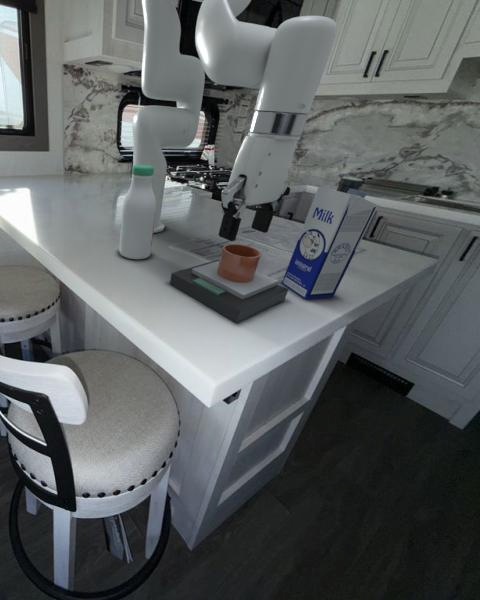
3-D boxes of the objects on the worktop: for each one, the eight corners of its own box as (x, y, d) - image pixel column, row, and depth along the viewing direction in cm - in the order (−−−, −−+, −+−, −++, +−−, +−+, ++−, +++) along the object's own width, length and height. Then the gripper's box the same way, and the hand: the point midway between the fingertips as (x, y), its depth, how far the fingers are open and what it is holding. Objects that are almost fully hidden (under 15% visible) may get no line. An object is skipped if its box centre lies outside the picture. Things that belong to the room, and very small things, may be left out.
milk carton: (280, 283, 65) (318, 184, 55) (307, 281, 67) (348, 185, 56) (305, 299, 59) (352, 193, 49) (334, 297, 61) (385, 193, 50)
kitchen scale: (169, 283, 62) (172, 268, 60) (217, 269, 70) (220, 254, 68) (236, 323, 51) (241, 305, 49) (284, 300, 59) (290, 284, 57)
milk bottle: (148, 262, 71) (160, 169, 61) (116, 257, 72) (122, 166, 62) (151, 250, 78) (162, 165, 67) (122, 246, 79) (128, 162, 68)
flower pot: (209, 271, 60) (215, 247, 57) (231, 264, 63) (237, 241, 61) (239, 285, 55) (246, 260, 53) (260, 277, 59) (269, 253, 56)
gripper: (283, 126, 54) (253, 222, 63) (219, 123, 45) (195, 234, 54) (328, 130, 48) (288, 233, 58) (265, 127, 40) (230, 250, 49)
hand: (243, 234), depth 56 cm, fingers open, 9 cm apart
